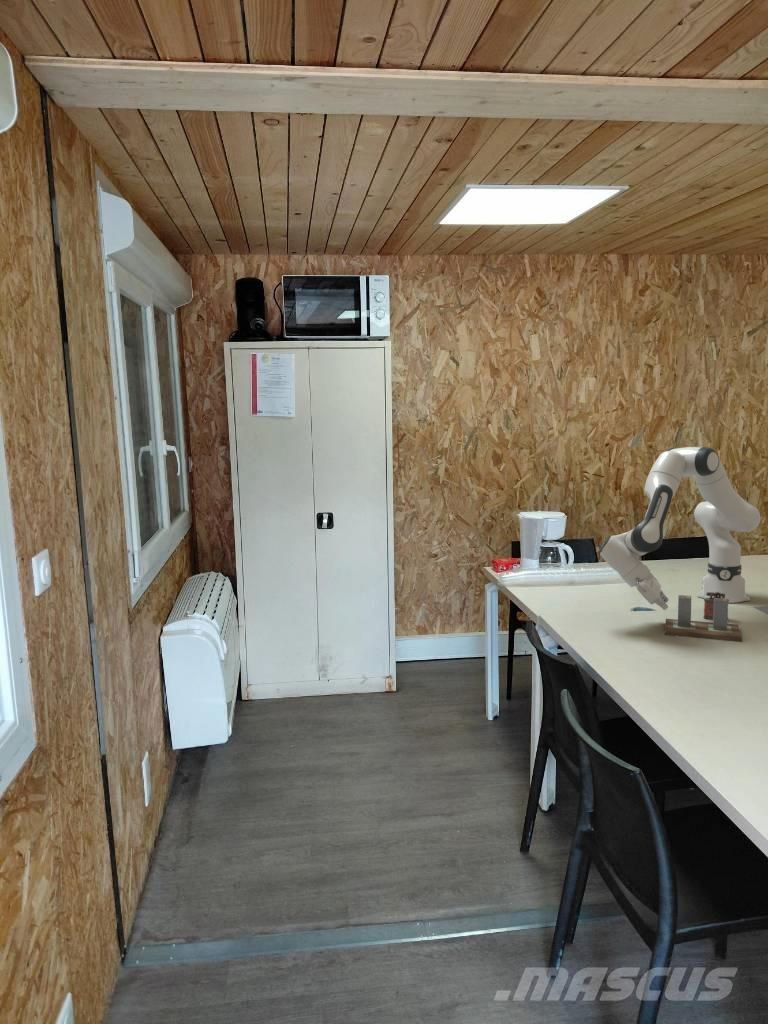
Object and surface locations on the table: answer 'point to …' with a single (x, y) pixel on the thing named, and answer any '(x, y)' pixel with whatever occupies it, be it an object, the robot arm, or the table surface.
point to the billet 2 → (720, 614)
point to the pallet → (703, 630)
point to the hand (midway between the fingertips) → (666, 604)
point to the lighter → (711, 604)
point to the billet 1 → (684, 611)
